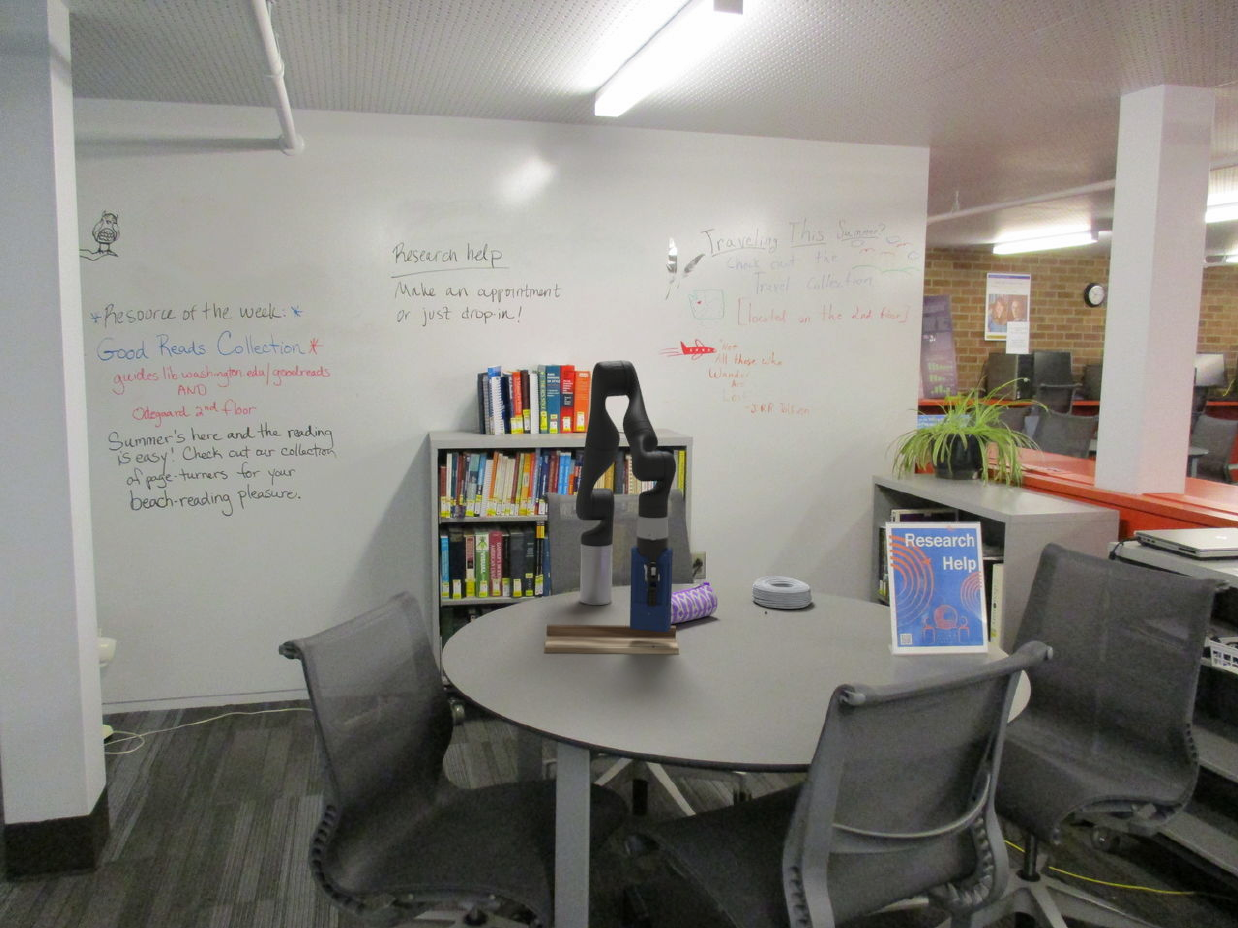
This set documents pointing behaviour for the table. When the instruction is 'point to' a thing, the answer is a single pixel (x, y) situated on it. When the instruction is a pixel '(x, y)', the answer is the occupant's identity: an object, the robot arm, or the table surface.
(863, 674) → the table surface
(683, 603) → the pencil case
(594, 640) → the guide board
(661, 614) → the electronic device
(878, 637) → the table surface
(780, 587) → the cable
